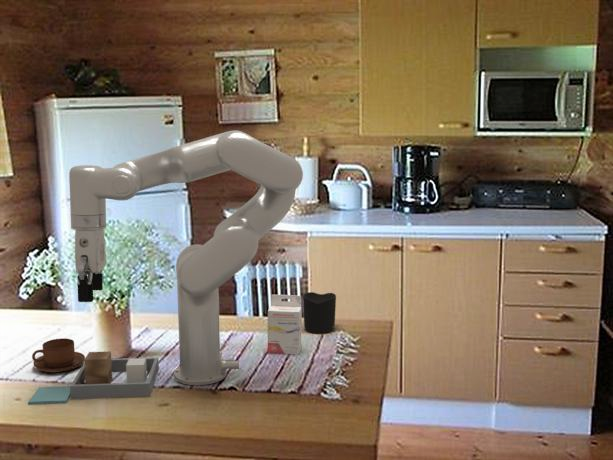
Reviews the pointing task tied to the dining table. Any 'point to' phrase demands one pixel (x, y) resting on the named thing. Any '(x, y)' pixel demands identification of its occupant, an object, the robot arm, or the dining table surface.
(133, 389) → the grey square frame
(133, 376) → the pale grey block
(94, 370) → the walnut block
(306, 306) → the pen holder
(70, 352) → the cup and saucer
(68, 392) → the pad
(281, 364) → the dining table surface
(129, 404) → the dining table surface
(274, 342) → the ink cartridge box
